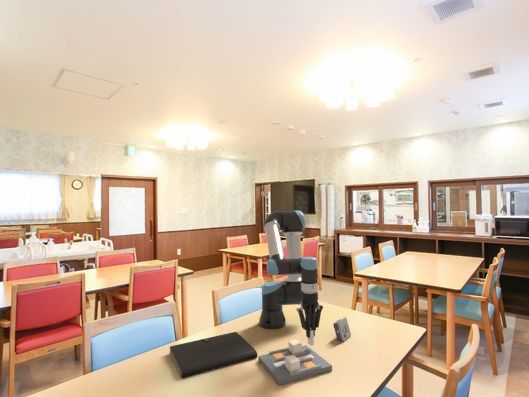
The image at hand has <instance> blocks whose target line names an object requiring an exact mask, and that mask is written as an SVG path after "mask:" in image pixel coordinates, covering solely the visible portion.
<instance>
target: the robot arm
mask: <svg viewBox="0 0 529 397" xmlns="http://www.w3.org/2000/svg"><path fill="white" fill-rule="evenodd" d="M305 229H306V219H305V214H304V213H303V212H302V210H275V211H272V212H271V213H270V214H268V215H267V216H266V218H265V219H264V222H263V232H264V233H265V235H266V242H267V249H268V254H269V255H268V256H269V259H267V260H266V272H267V274H268V275H270V276H283V275H285V276H286V275H287V277H286V279H285V281H284V283H283V282H282V281H281V280H272V281H267V282H265V283H263V284H262V286H261V313H260V316H259V319H258V320H259V321H258V324H259V326H260V327H261V328H264V329H268V330H275V329H280V328H283V327H286V324H287V321H286V320H287V318H286V317H285V313H284V311H283V306H291V305H292V306H294V305H297V306H299V305H300V307H297V308H296V311H297V313H298V315H299V319H300V325H301V328H302V329H303V330H305V336H306V338H307V344H308V345H309V346H311V347H312V346H314V345H315V344H314V343H315V340H314V337H315V336H316V331H317V328H319V326H320V321H321V315H322V310H323V308H324V306H323V305H321V304H320V303H319V292H318V288H319V284H318V283H319V282H318V280H319V278H318V277H319V276H318V274H319V273H318V259H317V258H316V257H313V256H302V242H301V235H303V232H304V231H305ZM280 231H282V233H283V235H284V236H285V242H286V243H285V244H286V245H285V246H286V257H285V252H284V248H283V243H282V238H281V232H280Z"/></svg>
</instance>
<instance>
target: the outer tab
mask: <svg viewBox="0 0 529 397" xmlns="http://www.w3.org/2000/svg"><path fill="white" fill-rule="evenodd" d="M285 367H286V369H287V370H288V371H289V372H294V371H298V370H300V360H299V359H298V358H297V357H295V356H294V355H291V356H287V357H285Z"/></svg>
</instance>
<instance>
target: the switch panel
mask: <svg viewBox="0 0 529 397" xmlns="http://www.w3.org/2000/svg"><path fill="white" fill-rule="evenodd" d="M291 355H294V356H295V357H297V358H298V359H299V360H300V370H298V371H294V372H289V371H288V370H287V369H286V367H285V357H287V356H291ZM257 358H258V362H259V363H260V365H261V366H262V367H263V368H264V369H265V370H266V372H267V373H268V374H269V375H270V376H271V377H272V379H273V380H274V381H275V382H276V384H277V385H278V386H281V385H284V384H285V385H286V384H289V383H292V382H295V381H299V380H304V379H307V378H311V377H313V376H316V375H321V374H324V373H329V372H332V371H333V365H332V364H331V363H329V362H328V361H327V360H326V359H325V358H324V357H322V356H321V355H319V354H318V353H317V352H315V351H314V349H312V348H310V346H308V345H307V344H305V345H302V352H301V353H297V354H292V353H291V352H290V351H289V346H288V347H284V348H279V349H274V350H271V351H269V352H268V353H265V354H261V355H257Z"/></svg>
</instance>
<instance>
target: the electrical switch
mask: <svg viewBox="0 0 529 397" xmlns="http://www.w3.org/2000/svg"><path fill="white" fill-rule="evenodd" d="M332 325H333V328H334V332H335V337H336V340H337V341H341V342H342V343H343V342H346V341H347V340H348V339H349V338H350V337H351V336H352V333H351V329H350V326H349V323H348V319H347V317H342V318H341V319H338V320H337V321H335V322H333V324H332Z"/></svg>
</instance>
